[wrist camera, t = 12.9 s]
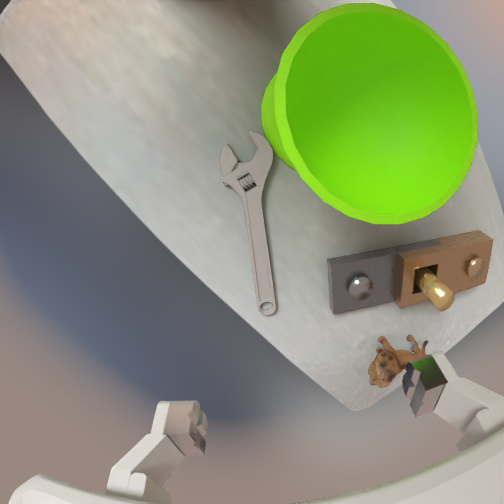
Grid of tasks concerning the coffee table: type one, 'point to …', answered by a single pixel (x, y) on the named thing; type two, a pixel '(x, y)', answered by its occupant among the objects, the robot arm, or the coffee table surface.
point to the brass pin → (433, 288)
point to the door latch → (407, 271)
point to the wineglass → (372, 113)
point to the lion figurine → (392, 361)
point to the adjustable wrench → (253, 211)
